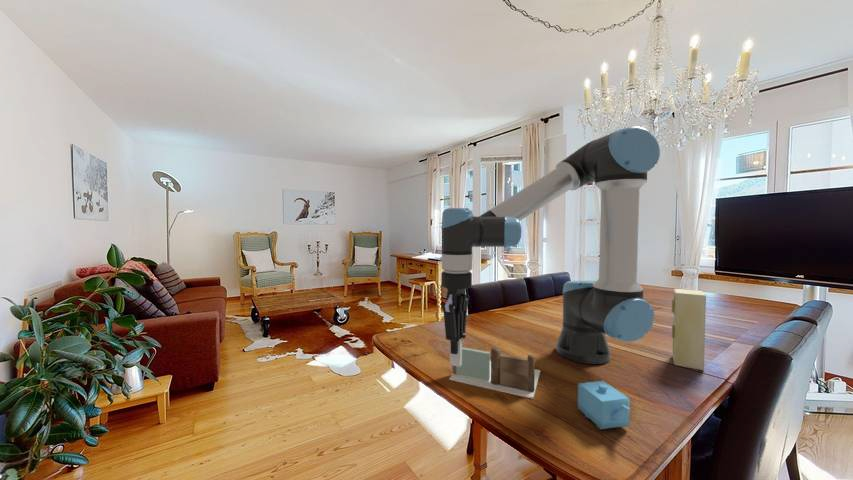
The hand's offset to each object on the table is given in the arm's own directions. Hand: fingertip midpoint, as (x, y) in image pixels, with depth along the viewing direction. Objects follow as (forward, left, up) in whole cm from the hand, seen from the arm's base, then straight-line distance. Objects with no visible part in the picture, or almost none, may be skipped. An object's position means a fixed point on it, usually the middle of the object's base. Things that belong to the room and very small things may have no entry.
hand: (455, 364), depth 78 cm
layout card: (-8, -10, -6) cm, 14 cm away
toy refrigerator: (-56, -42, -6) cm, 70 cm away
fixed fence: (-13, -6, -5) cm, 15 cm away
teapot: (-33, 0, -6) cm, 33 cm away
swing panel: (-2, -6, -5) cm, 8 cm away
